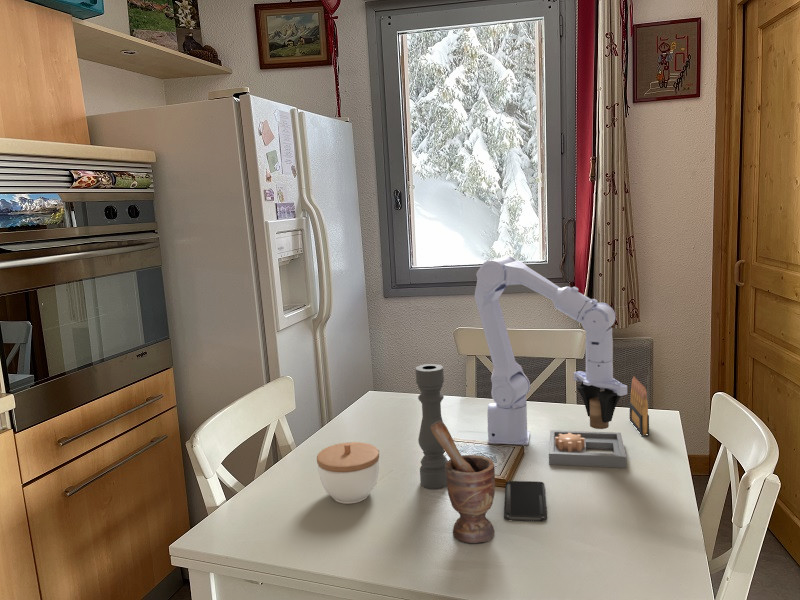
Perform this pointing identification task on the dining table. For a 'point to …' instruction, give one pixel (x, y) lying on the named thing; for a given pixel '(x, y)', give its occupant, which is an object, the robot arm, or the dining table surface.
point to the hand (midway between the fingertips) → (599, 418)
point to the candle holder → (430, 397)
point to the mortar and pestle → (468, 488)
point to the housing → (573, 449)
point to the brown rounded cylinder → (596, 415)
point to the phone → (525, 501)
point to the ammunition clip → (639, 407)
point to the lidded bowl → (349, 471)
